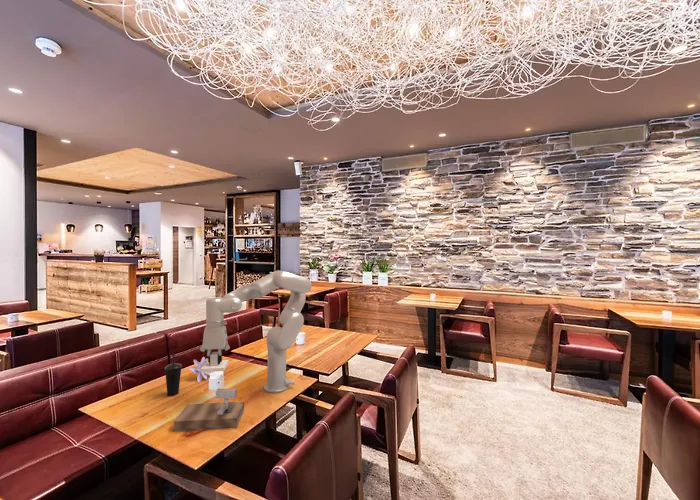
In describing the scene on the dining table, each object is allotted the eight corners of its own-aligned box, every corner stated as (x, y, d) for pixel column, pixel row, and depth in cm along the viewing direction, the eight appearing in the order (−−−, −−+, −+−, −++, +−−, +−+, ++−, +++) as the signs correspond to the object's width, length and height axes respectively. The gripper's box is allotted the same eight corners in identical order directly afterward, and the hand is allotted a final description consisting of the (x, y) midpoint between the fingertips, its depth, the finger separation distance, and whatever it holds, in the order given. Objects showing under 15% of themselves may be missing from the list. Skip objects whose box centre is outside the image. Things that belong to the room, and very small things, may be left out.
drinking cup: (185, 391, 158) (185, 352, 158) (172, 398, 150) (172, 356, 150) (173, 389, 160) (174, 350, 160) (160, 395, 153) (160, 354, 153)
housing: (244, 410, 140) (244, 400, 140) (237, 427, 126) (237, 417, 126) (187, 413, 137) (187, 403, 137) (173, 431, 123) (173, 420, 123)
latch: (217, 407, 134) (218, 388, 134) (236, 407, 134) (237, 388, 134) (209, 417, 126) (210, 397, 126) (229, 417, 126) (230, 397, 126)
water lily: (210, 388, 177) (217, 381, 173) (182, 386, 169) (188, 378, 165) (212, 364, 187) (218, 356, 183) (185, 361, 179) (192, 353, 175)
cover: (228, 362, 152) (228, 349, 152) (223, 370, 142) (223, 356, 142) (207, 364, 151) (206, 350, 150) (200, 372, 141) (200, 357, 141)
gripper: (234, 321, 151) (235, 359, 151) (198, 323, 149) (199, 361, 149) (231, 325, 144) (231, 365, 144) (193, 327, 141) (193, 367, 141)
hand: (215, 363), depth 146 cm, fingers closed on cover, 3 cm apart
